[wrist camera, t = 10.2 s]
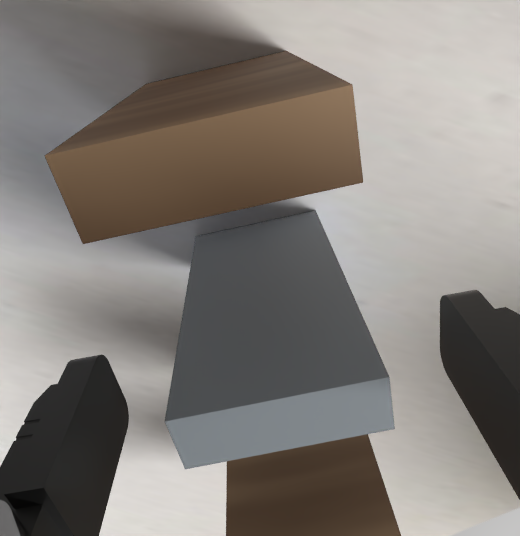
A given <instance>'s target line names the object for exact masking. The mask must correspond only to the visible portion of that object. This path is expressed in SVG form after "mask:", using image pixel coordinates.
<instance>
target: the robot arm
mask: <svg viewBox="0 0 520 536" xmlns="http://www.w3.org/2000/svg"><path fill="white" fill-rule="evenodd" d="M440 353H441V358H442V362H443V366H444V368H445V371H446V373H447V375H448V377H449V379H450V380H451V382H452V384H453V385H454V387H455V389H456V391H457V392H458V394H459V396H460V398H461V399H462V401H463V403H464V404H465V406H466V408H467V410H468V411H469V413H470V415H471V417H472V418H473V420H474V422H475V423H476V425H477V427H478V429H479V430H480V432H481V434H482V436H483V437H484V439H485V441H486V442H487V444H488V446H489V448H490V449H491V451H492V453H493V455H494V456H495V458H496V460H497V461H498V463H499V465H500V467H501V468H502V470H503V472H504V474H505V475H506V477H507V479H508V480H509V482H510V484H511V486H512V487H513V489H514V491H515V492H516V494H517V496H518V498H519V499H520V315H519V314H517V313H516V312H514V311H512V310H510V309H508V308H506V307H504V308H499V309H494V308H493V307H492V305H491V304H490V303H489V302H488V301H487V300H486V299H485V297H484V296H483V295H482V294H481V293H480V292H479V291H477V290H472V291H467V292H461V293H455V294H450V295H444V296H442V298H441V301H440ZM128 420H129V415H128V407H127V403H126V400H125V397H124V395H123V393H122V391H121V388H120V386H119V384H118V382H117V379H116V377H115V375H114V373H113V370H112V368H111V366H110V364H109V361H108V360H107V358H106V357H105V356H104V355H98V356H92V357H86V358H81V359H75V360H71V361H69V362H68V364H67V366H66V368H65V370H64V372H63V374H62V376H61V378H60V380H59V382H58V384H55V385H51V386H50V387H49V388H48V389H47V390H46V391H45V392H44V393H43V394H42V395H41V396H40V397H39V398H38V399H37V400H36V401H35V402H34V404H33V406H32V408H31V409H30V411H29V413H28V415H27V417H26V419H25V421H24V422H25V424H24V425H22V427H21V428H20V430H19V432H18V434H17V436H16V441H14V442H13V444H12V446H11V448H10V449H9V451H8V453H7V455H6V457H5V459H4V461H3V463H2V465H1V467H0V536H99V533H100V529H101V525H102V521H103V518H104V514H105V510H106V506H107V503H108V499H109V495H110V491H111V488H112V484H113V480H114V477H115V473H116V469H117V465H118V462H119V458H120V454H121V450H122V447H123V443H124V439H125V435H126V432H127V428H128Z"/></svg>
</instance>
